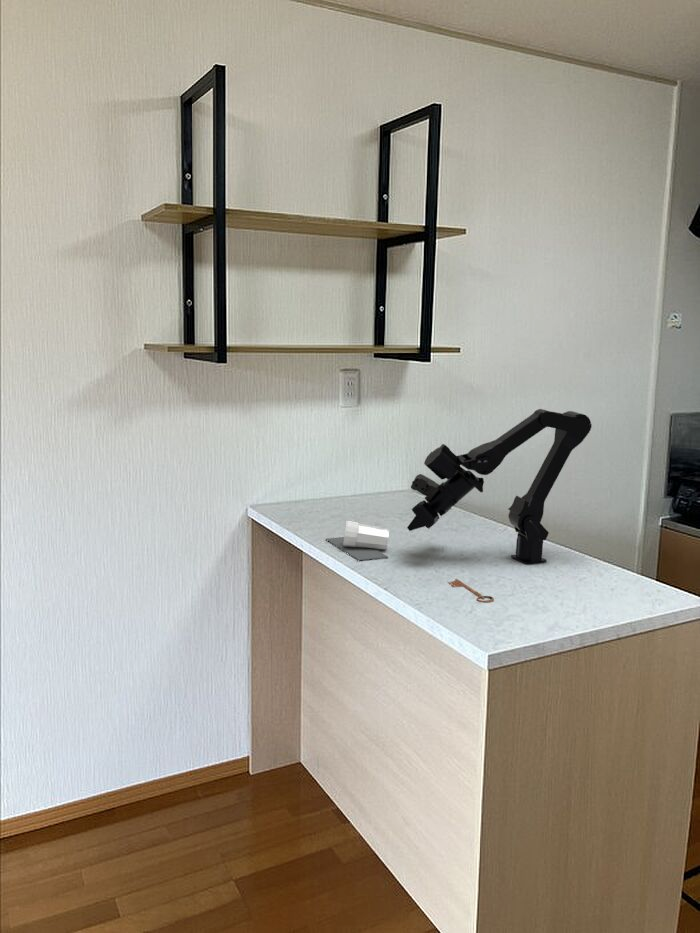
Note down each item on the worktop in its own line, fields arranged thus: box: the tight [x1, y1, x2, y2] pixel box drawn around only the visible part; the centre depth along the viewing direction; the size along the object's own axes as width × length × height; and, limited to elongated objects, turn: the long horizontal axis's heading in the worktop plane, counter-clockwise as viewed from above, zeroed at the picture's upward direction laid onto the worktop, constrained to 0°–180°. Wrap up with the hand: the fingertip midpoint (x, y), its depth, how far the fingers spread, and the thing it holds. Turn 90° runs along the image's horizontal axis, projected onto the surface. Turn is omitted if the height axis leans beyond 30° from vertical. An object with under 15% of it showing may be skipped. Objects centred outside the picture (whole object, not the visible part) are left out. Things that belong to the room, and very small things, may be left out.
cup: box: [343, 520, 390, 550], centre depth 211 cm, size 7×7×11 cm
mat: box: [325, 536, 389, 562], centre depth 212 cm, size 20×8×1 cm, turn 26°
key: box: [447, 578, 495, 604], centre depth 182 cm, size 6×1×15 cm
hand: (408, 529), depth 207 cm, fingers closed
